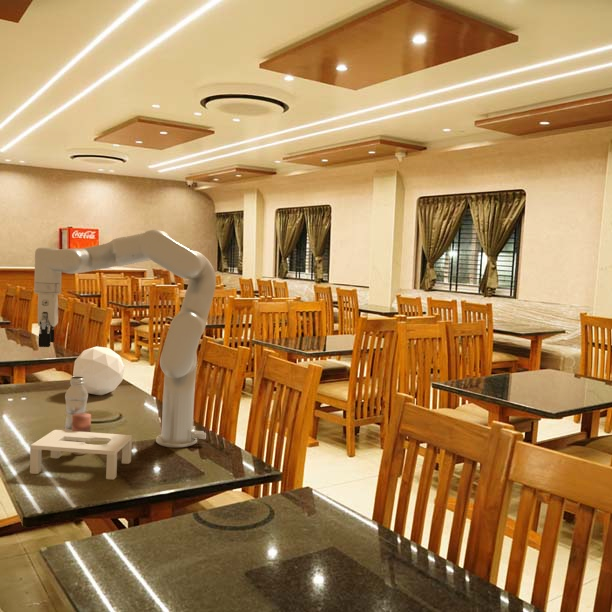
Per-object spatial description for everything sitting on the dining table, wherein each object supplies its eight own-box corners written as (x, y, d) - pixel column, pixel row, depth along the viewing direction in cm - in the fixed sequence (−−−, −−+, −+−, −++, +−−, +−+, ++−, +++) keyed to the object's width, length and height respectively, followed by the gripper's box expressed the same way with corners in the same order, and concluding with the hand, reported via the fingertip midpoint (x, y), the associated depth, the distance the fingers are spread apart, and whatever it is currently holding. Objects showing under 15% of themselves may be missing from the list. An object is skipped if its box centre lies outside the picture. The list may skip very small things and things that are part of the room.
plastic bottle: (58, 443, 182) (60, 377, 180) (76, 438, 188) (78, 374, 186) (73, 447, 179) (75, 381, 177) (91, 442, 185) (93, 377, 183)
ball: (100, 406, 250) (120, 364, 260) (118, 400, 235) (139, 355, 245) (57, 386, 242) (80, 343, 252) (74, 377, 227) (97, 332, 237)
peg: (92, 450, 178) (93, 413, 177) (85, 456, 173) (87, 418, 172) (75, 449, 178) (76, 412, 177) (68, 454, 173) (69, 416, 172)
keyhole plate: (131, 461, 171) (132, 435, 170) (113, 479, 157) (114, 451, 156) (53, 455, 171) (54, 429, 171) (29, 473, 157) (30, 445, 157)
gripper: (57, 291, 177) (56, 349, 179) (63, 287, 194) (62, 340, 195) (29, 290, 175) (28, 348, 176) (38, 286, 191) (37, 339, 193)
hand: (46, 344), depth 186 cm, fingers open, 9 cm apart
